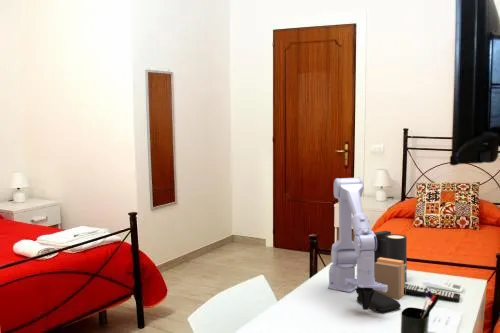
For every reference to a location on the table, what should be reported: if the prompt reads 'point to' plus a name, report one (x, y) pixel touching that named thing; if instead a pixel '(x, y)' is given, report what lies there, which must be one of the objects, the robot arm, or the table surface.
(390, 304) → the carrying case or bag
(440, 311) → the table surface
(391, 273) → the tan upright slab
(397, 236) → the light fixture
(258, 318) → the table surface
